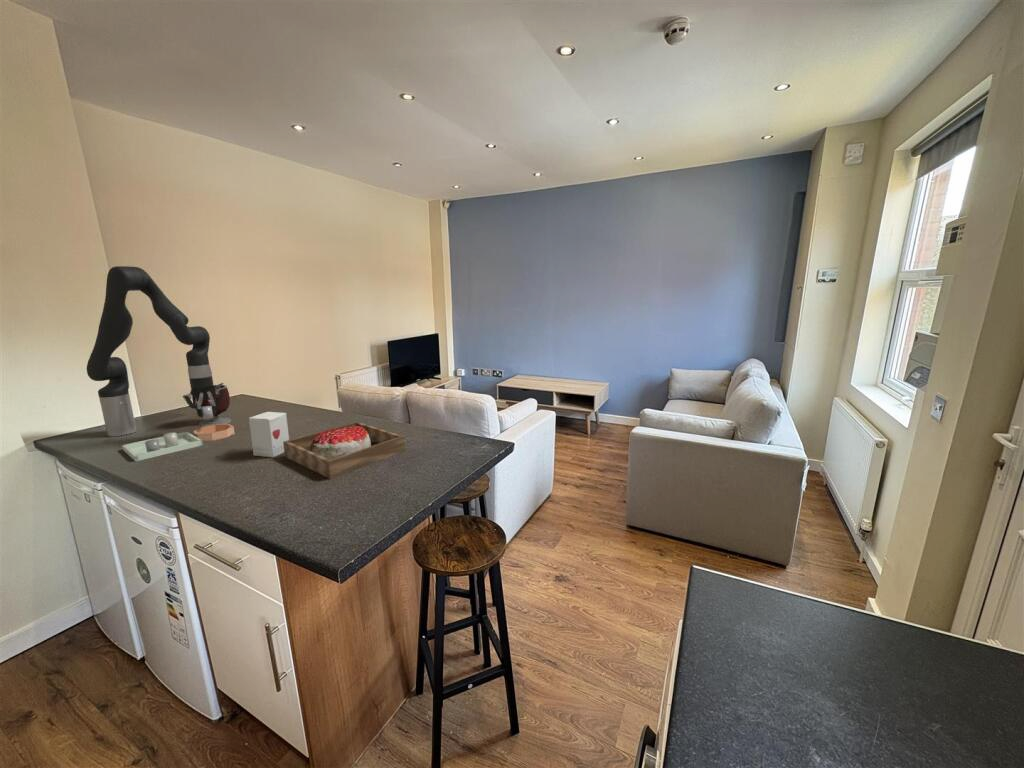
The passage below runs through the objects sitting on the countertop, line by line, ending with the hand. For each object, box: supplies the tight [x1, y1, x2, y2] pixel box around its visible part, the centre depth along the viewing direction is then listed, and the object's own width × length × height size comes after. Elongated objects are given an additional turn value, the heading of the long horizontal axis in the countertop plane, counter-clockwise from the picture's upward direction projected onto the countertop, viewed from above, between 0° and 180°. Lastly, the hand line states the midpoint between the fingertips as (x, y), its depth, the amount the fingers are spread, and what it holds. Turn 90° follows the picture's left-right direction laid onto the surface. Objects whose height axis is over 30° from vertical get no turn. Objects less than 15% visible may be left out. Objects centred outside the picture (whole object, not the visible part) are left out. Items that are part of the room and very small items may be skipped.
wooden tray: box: [283, 421, 406, 480], centre depth 152 cm, size 31×30×6 cm
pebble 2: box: [163, 431, 178, 448], centre depth 157 cm, size 4×4×5 cm
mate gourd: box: [191, 382, 232, 428], centre depth 187 cm, size 16×14×20 cm
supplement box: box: [248, 411, 290, 458], centre depth 152 cm, size 9×9×15 cm
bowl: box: [192, 423, 235, 442], centre depth 169 cm, size 13×13×4 cm
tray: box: [121, 431, 204, 462], centre depth 155 cm, size 18×20×3 cm
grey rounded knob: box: [145, 439, 160, 452], centre depth 149 cm, size 4×4×5 cm
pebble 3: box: [201, 405, 214, 420], centre depth 167 cm, size 4×4×5 cm
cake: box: [309, 426, 372, 460], centre depth 151 cm, size 23×24×10 cm
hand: (207, 415), depth 167 cm, fingers closed on pebble 3, 3 cm apart
